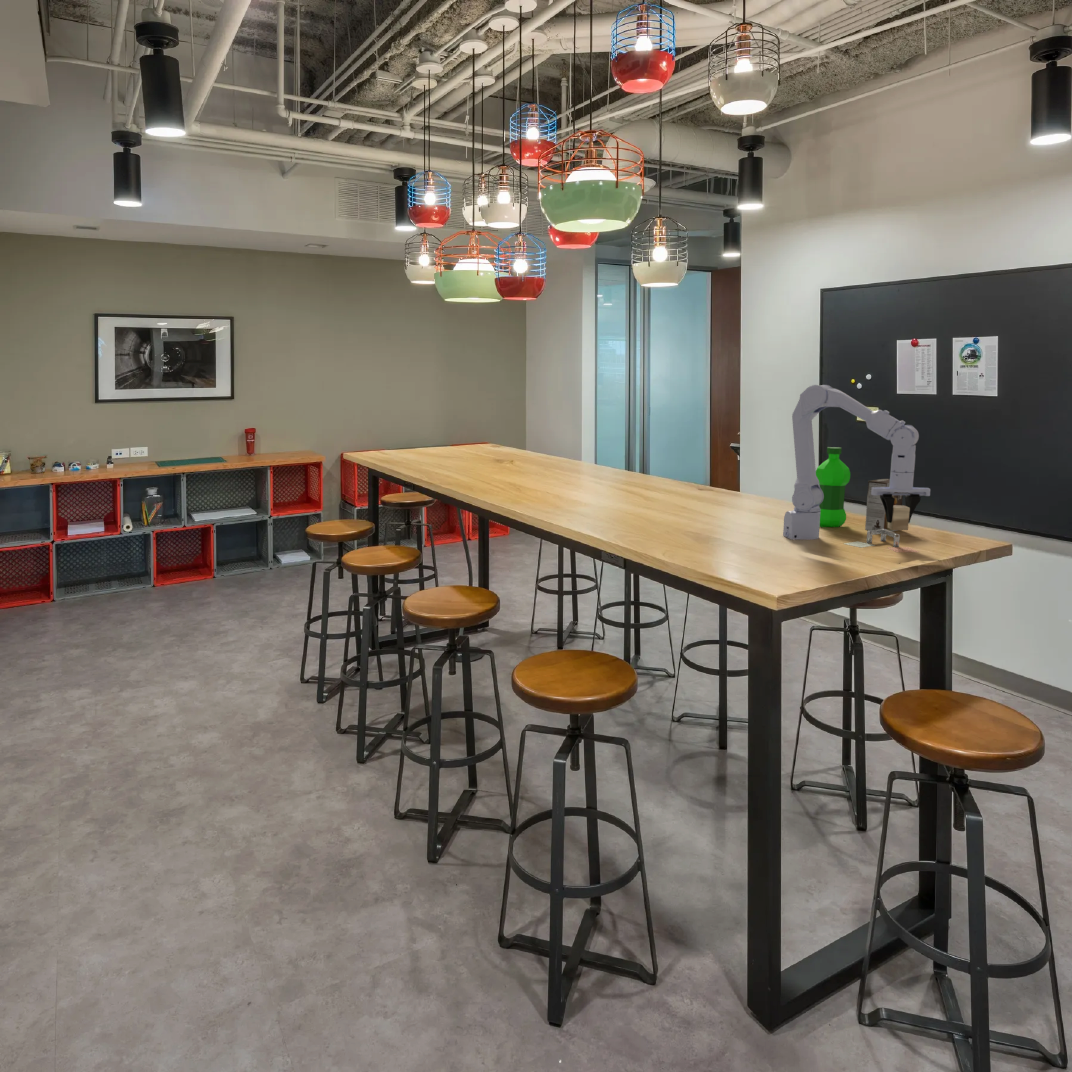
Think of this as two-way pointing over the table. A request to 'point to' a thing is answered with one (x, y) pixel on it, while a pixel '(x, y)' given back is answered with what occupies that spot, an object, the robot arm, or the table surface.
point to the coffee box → (878, 507)
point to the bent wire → (883, 536)
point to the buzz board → (899, 549)
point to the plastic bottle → (833, 488)
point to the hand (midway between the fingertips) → (898, 522)
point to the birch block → (899, 518)
